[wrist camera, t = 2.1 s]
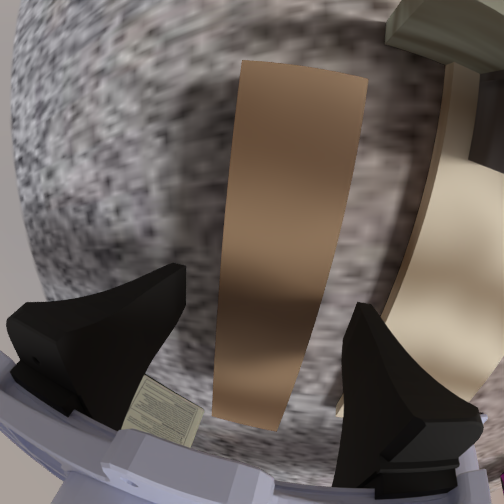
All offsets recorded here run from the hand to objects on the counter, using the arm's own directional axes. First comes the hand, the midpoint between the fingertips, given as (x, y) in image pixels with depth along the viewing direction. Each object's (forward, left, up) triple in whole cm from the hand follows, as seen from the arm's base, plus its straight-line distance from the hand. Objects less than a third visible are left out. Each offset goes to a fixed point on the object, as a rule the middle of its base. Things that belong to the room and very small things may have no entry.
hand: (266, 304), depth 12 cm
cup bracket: (+1, -11, -3) cm, 12 cm away
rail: (0, 0, -4) cm, 4 cm away
